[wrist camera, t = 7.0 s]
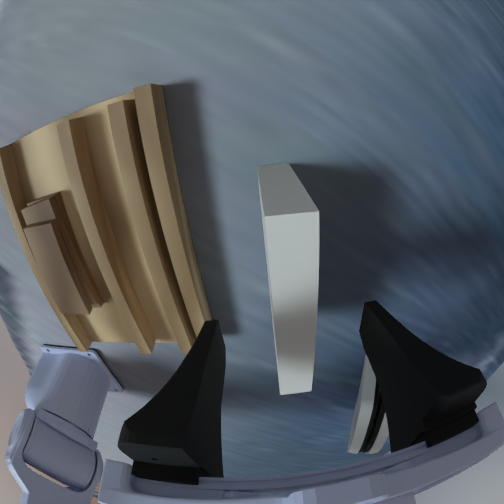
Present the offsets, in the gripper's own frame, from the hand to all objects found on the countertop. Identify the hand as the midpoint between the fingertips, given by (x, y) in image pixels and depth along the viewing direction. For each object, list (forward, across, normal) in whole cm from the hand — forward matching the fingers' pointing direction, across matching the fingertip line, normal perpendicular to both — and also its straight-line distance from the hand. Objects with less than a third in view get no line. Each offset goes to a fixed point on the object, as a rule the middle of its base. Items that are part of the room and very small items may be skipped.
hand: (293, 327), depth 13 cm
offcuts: (+7, +16, -2) cm, 18 cm away
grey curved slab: (+8, -10, +21) cm, 24 cm away
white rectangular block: (+8, 0, 0) cm, 8 cm away
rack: (+8, +13, -2) cm, 15 cm away
